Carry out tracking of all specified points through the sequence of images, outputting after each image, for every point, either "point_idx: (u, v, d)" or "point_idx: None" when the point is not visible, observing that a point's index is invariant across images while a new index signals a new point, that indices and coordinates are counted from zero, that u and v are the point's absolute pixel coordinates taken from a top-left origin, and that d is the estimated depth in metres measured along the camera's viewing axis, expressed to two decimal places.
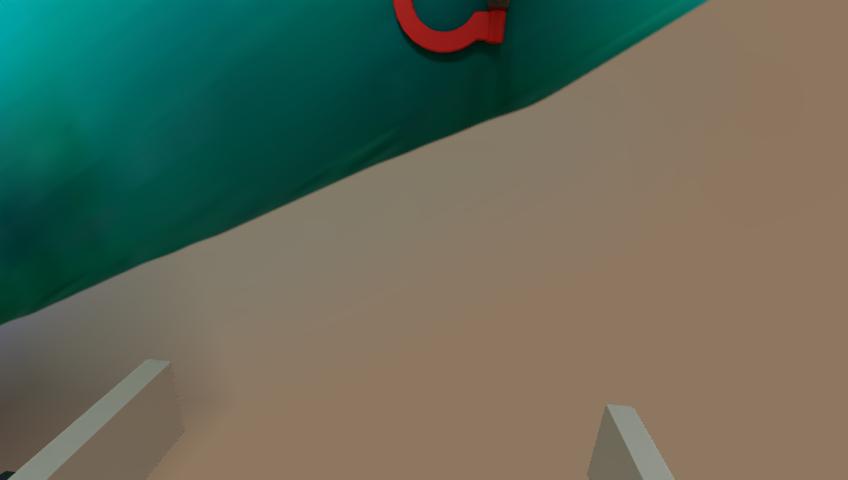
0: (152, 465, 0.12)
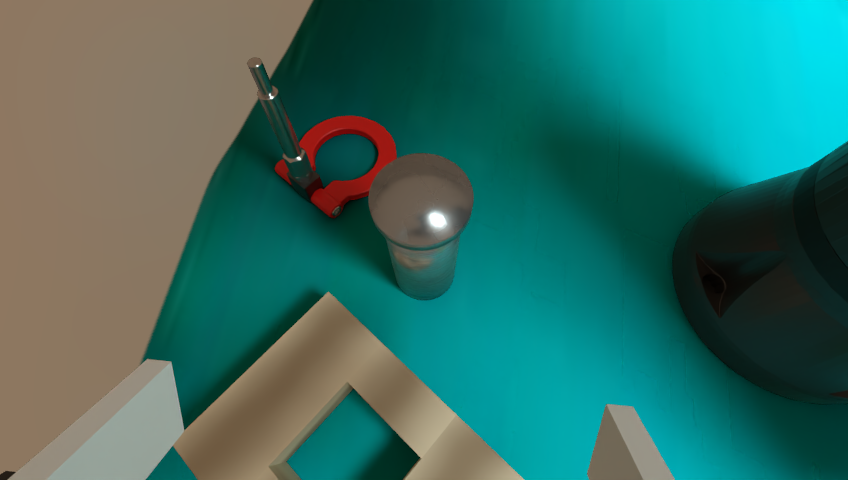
0: (152, 466, 0.12)
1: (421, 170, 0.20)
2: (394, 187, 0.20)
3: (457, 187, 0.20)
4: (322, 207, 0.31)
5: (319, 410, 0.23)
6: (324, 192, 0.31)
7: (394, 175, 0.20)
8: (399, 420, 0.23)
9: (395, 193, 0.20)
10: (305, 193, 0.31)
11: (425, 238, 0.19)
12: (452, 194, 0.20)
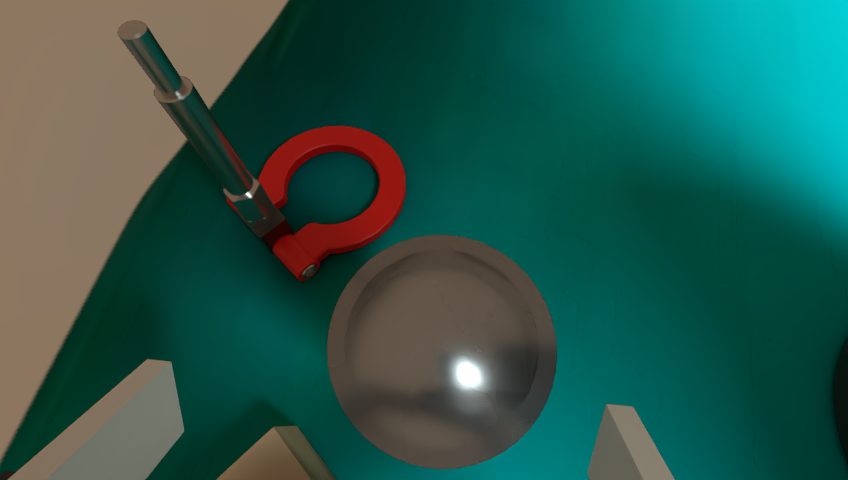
0: (153, 466, 0.12)
1: (445, 274, 0.10)
2: (385, 311, 0.09)
3: (521, 322, 0.09)
4: (287, 265, 0.21)
5: None
6: (293, 241, 0.21)
7: (388, 283, 0.10)
8: None
9: (386, 326, 0.09)
10: (263, 242, 0.20)
11: (446, 453, 0.08)
12: (510, 338, 0.09)
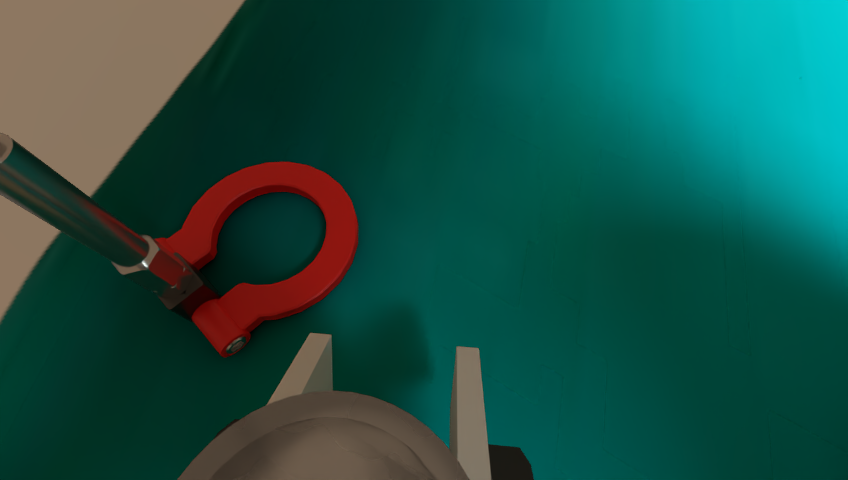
0: None
1: (331, 464, 0.06)
2: None
3: None
4: (208, 338, 0.17)
5: None
6: (216, 308, 0.17)
7: None
8: None
9: None
10: (177, 313, 0.17)
11: None
12: None
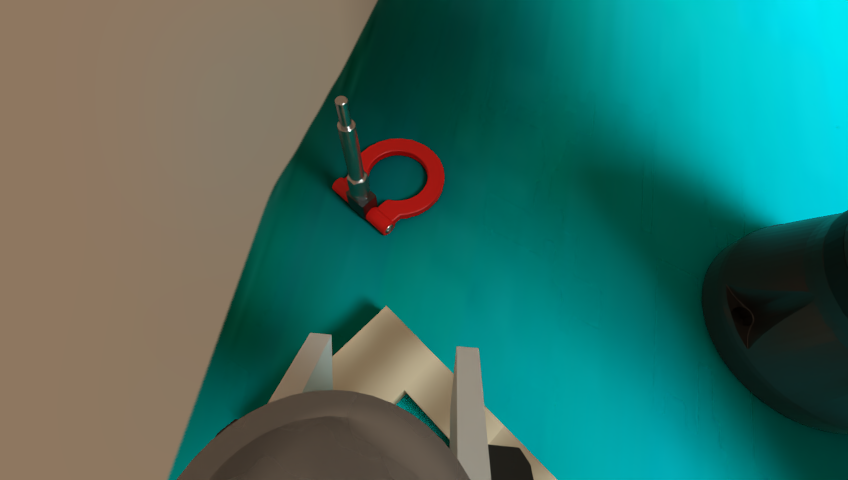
0: None
1: (331, 463, 0.06)
2: None
3: None
4: (376, 224, 0.34)
5: None
6: (378, 210, 0.34)
7: None
8: None
9: None
10: (361, 211, 0.33)
11: None
12: None
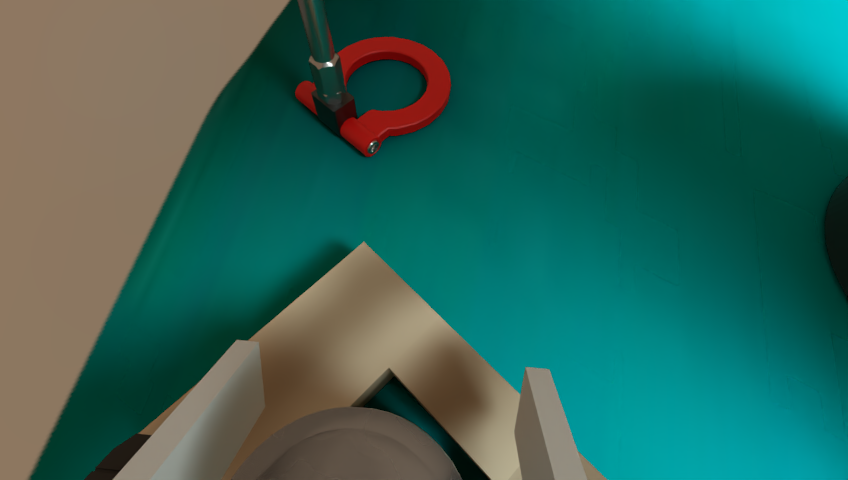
0: (244, 436, 0.13)
1: (352, 466, 0.08)
2: None
3: None
4: (355, 140, 0.24)
5: None
6: (358, 122, 0.24)
7: (280, 478, 0.08)
8: (465, 429, 0.15)
9: None
10: (334, 120, 0.24)
11: None
12: None
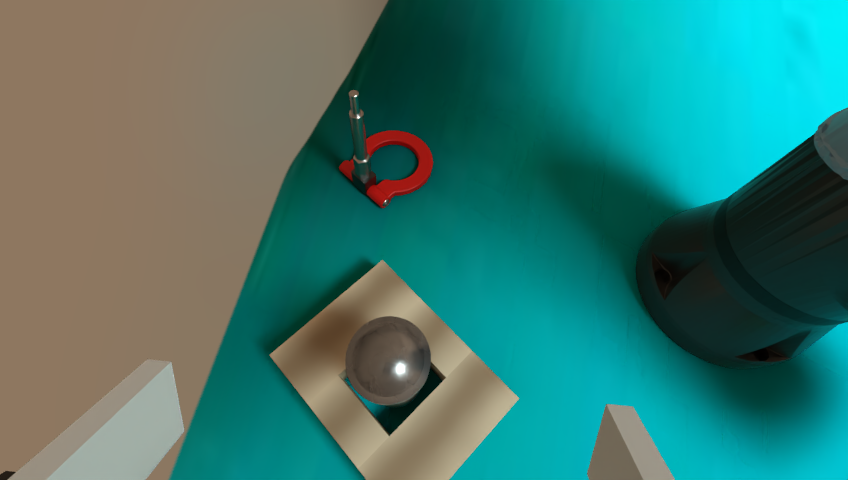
0: (152, 465, 0.12)
1: (391, 333, 0.25)
2: (367, 347, 0.25)
3: (418, 352, 0.25)
4: (375, 199, 0.41)
5: None
6: (377, 187, 0.41)
7: (368, 336, 0.25)
8: (431, 351, 0.32)
9: (367, 353, 0.24)
10: (363, 187, 0.41)
11: (387, 399, 0.23)
12: (414, 358, 0.24)
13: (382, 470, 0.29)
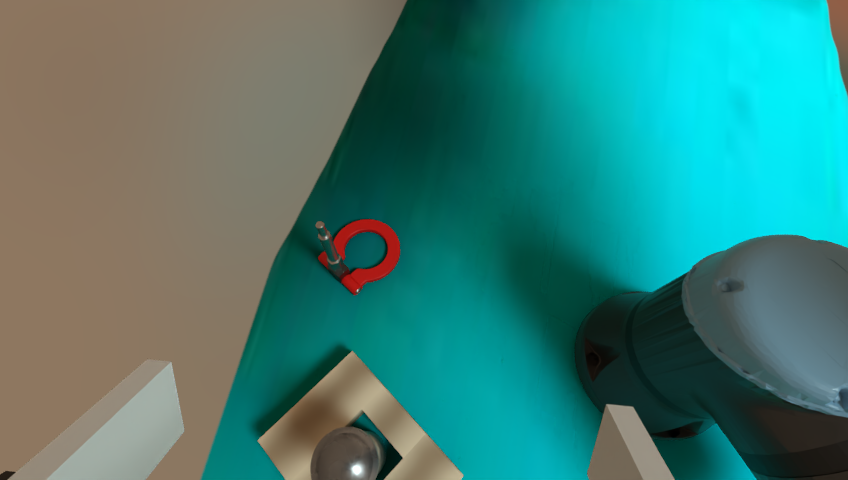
0: (152, 465, 0.12)
1: (347, 442, 0.31)
2: (328, 455, 0.31)
3: (368, 458, 0.31)
4: (349, 288, 0.47)
5: (344, 426, 0.39)
6: (350, 277, 0.47)
7: (329, 445, 0.31)
8: (391, 434, 0.39)
9: (328, 460, 0.31)
10: (338, 278, 0.47)
11: None
12: (364, 464, 0.31)
13: None
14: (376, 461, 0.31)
